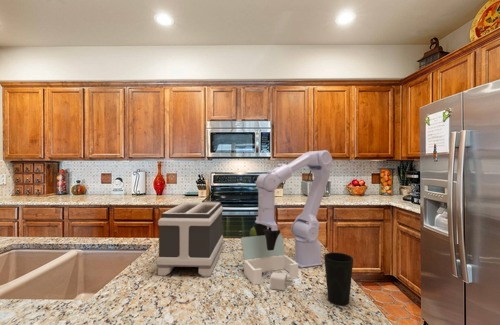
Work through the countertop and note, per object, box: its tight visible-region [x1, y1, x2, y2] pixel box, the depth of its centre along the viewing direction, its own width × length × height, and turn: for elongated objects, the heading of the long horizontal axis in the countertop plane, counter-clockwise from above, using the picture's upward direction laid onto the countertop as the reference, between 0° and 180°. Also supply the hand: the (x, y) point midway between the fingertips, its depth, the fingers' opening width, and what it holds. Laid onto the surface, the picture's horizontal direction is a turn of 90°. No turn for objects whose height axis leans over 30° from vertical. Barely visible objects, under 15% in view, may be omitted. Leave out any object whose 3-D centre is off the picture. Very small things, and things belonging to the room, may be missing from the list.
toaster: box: [156, 201, 224, 278], centre depth 104 cm, size 18×34×21 cm, turn 178°
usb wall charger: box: [269, 271, 296, 292], centre depth 79 cm, size 4×7×4 cm, turn 72°
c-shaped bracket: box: [243, 254, 299, 286], centre depth 88 cm, size 16×9×5 cm, turn 110°
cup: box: [323, 252, 354, 307], centre depth 72 cm, size 8×8×12 cm
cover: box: [240, 233, 286, 260], centre depth 94 cm, size 16×8×1 cm
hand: (265, 246), depth 92 cm, fingers open, 7 cm apart
